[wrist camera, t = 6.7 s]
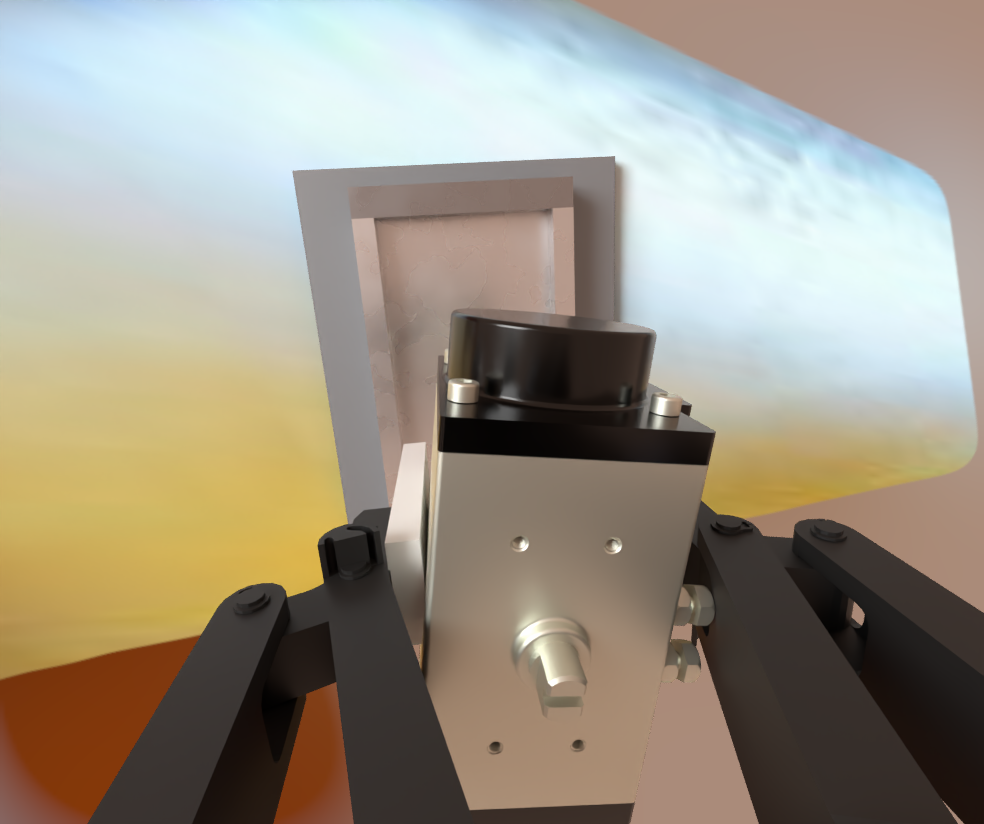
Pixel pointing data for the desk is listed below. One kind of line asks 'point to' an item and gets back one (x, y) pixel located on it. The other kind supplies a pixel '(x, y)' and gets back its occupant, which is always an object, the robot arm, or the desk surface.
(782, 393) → the desk surface
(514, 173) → the mounting board
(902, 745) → the robot arm
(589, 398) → the pneumatic valve
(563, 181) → the shallow rectangular tray
